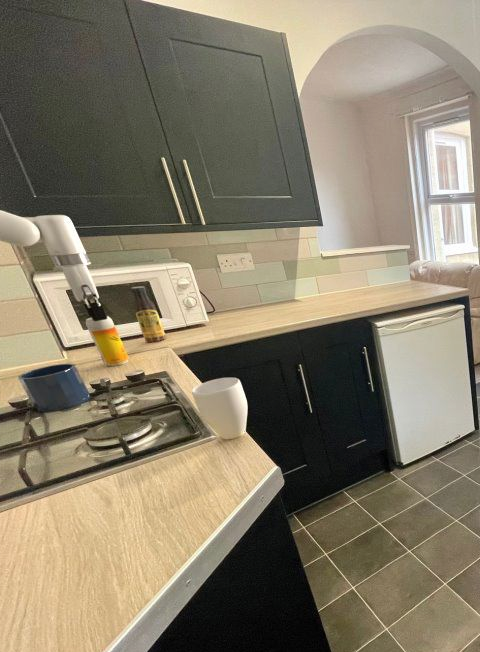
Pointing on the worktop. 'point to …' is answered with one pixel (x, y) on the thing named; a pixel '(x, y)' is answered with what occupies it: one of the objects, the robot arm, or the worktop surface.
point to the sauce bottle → (147, 316)
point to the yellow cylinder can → (107, 341)
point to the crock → (55, 387)
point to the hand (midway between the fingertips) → (98, 317)
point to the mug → (222, 406)
